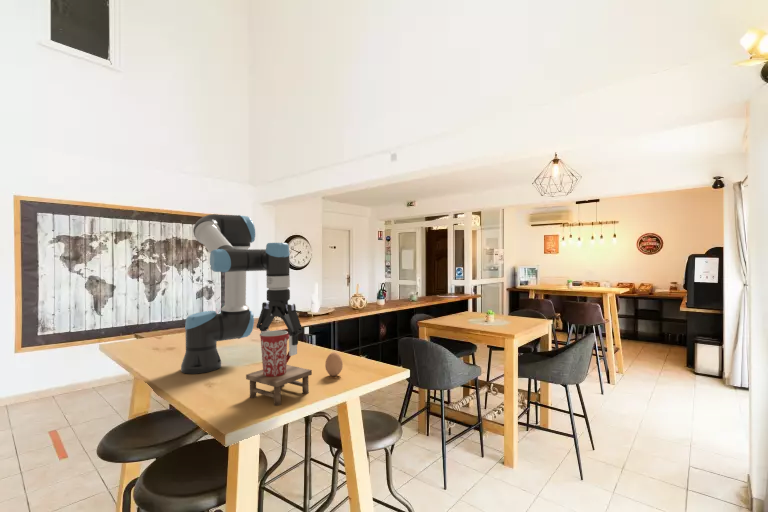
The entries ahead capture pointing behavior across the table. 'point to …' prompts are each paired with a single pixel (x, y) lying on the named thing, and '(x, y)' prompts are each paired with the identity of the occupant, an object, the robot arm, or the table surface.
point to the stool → (279, 382)
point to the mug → (274, 352)
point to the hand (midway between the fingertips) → (279, 352)
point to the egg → (333, 364)
